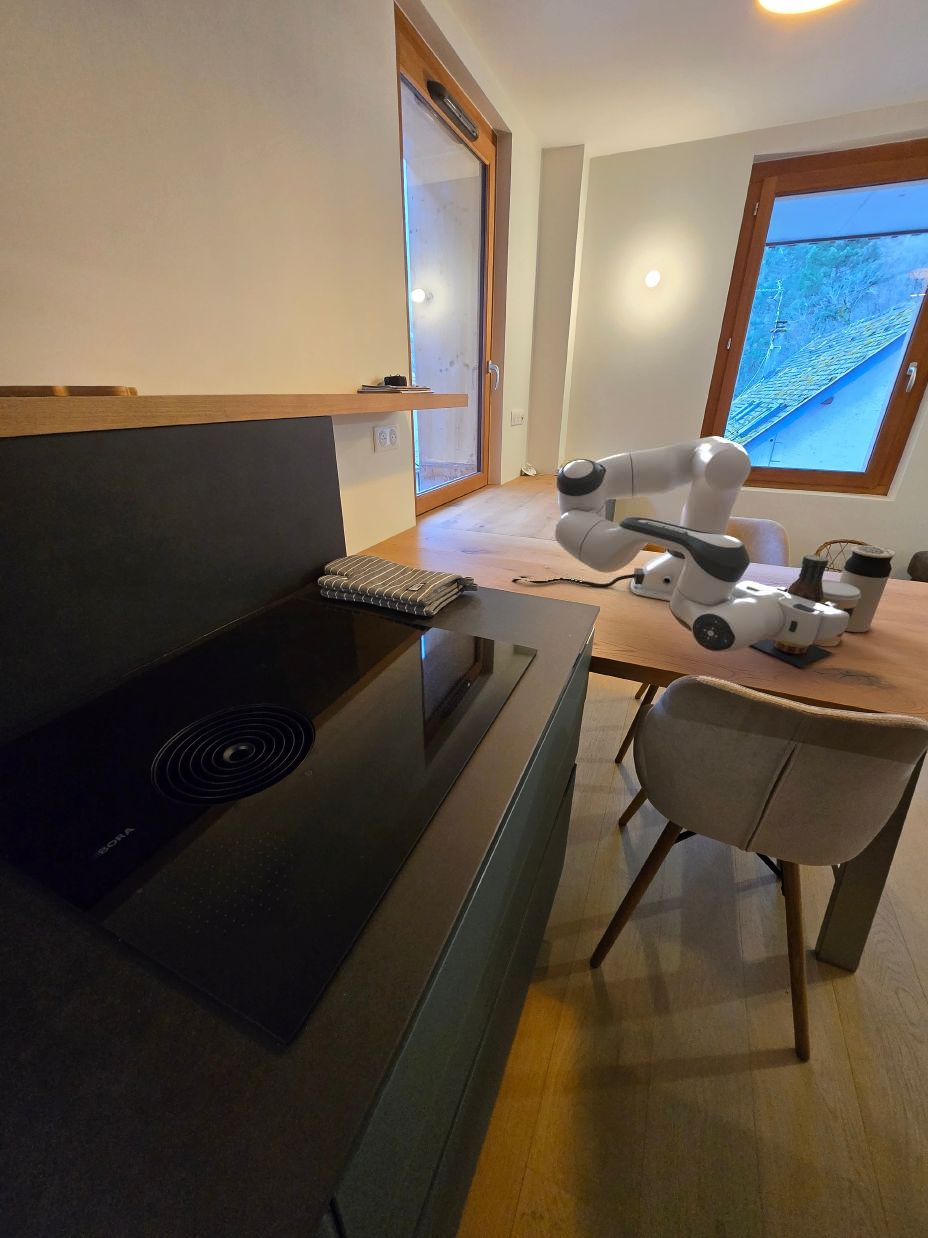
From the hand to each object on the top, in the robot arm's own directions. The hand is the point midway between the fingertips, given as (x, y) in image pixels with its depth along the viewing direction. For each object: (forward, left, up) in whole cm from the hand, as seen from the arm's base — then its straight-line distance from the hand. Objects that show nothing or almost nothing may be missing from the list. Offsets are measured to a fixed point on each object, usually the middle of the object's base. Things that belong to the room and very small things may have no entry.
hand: (807, 598), depth 99 cm
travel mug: (+14, +17, -12) cm, 25 cm away
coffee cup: (+6, +7, -12) cm, 15 cm away
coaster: (-1, -1, -12) cm, 12 cm away
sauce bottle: (-1, -1, -11) cm, 11 cm away
